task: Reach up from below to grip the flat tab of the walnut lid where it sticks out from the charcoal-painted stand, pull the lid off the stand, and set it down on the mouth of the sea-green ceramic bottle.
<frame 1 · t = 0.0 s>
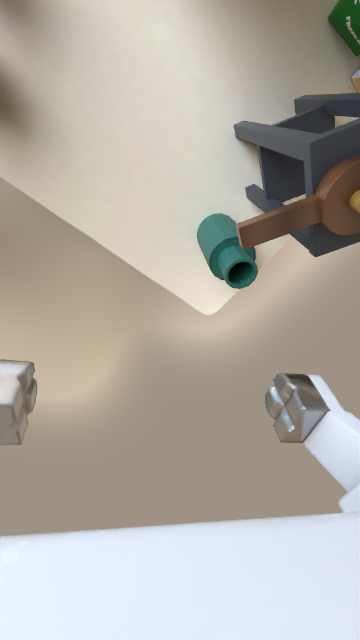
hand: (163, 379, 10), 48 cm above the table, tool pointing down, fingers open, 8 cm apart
bottle: (216, 233, 57), on the table
stand: (273, 150, 49), on the table
lid: (347, 194, 29), point 26 cm above the table, touching stand
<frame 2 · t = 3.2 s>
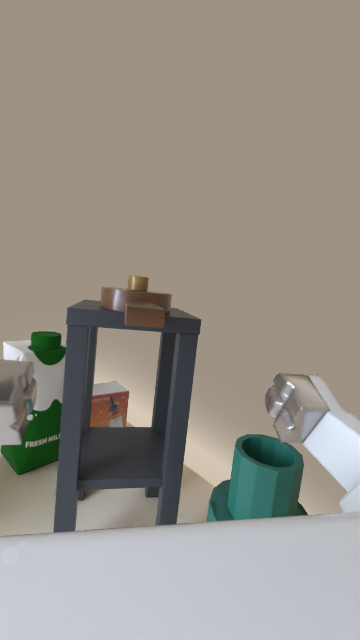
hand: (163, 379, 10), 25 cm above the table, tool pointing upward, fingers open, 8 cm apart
stand: (114, 523, 34), on the table
lid: (135, 310, 29), point 26 cm above the table, touching stand
milk carton: (33, 456, 46), on the table
small box: (96, 447, 50), on the table
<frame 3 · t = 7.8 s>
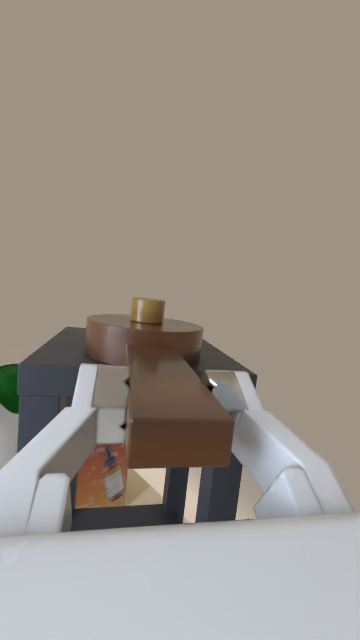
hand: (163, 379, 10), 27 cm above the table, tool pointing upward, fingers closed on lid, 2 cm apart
lid: (143, 353, 18), point 26 cm above the table, touching gripper, stand
milk carton: (2, 529, 34), on the table
small box: (88, 508, 39), on the table
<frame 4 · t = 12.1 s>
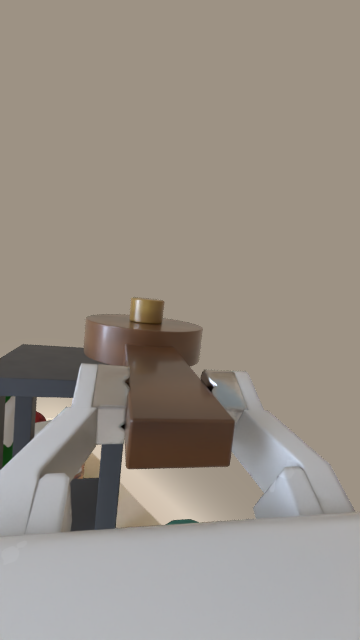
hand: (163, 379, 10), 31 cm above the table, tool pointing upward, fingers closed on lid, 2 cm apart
stand: (52, 591, 32), on the table
lid: (142, 353, 18), point 30 cm above the table, touching gripper
onion: (30, 447, 58), on the table
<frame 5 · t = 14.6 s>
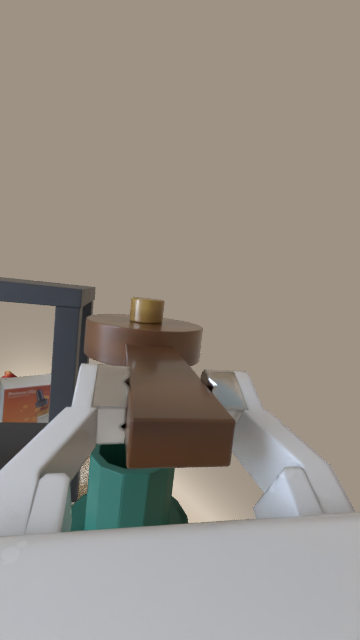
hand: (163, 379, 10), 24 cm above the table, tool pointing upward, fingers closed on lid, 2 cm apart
stand: (10, 534, 30), on the table
lid: (142, 353, 18), point 23 cm above the table, touching gripper
small box: (26, 445, 45), on the table
when the fingers open (18 cm above the table, at t = 16.5 s): lid stays where it is, resting on bottle.
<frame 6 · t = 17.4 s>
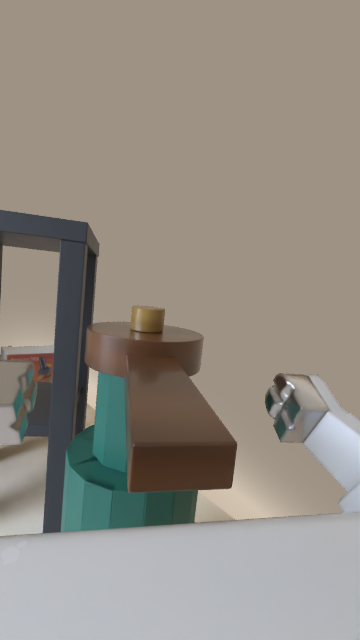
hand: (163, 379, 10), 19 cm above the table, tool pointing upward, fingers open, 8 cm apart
bottle: (119, 622, 19), on the table, touching lid
stand: (14, 489, 29), on the table
lid: (143, 362, 18), point 17 cm above the table, touching bottle
small box: (29, 416, 45), on the table
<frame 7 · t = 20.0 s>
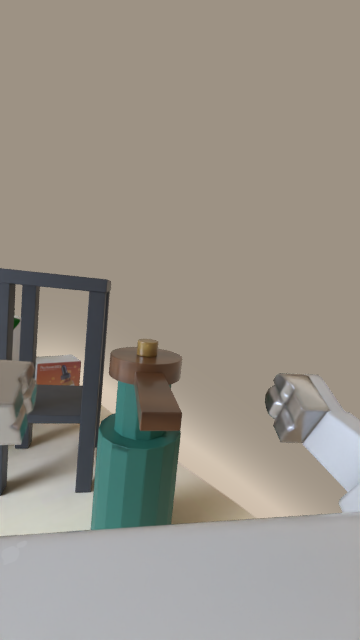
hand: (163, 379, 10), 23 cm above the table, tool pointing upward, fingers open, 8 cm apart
bottle: (130, 538, 29), on the table, touching lid
stand: (50, 464, 40), on the table
lid: (145, 374, 29), point 17 cm above the table, touching bottle
small box: (52, 412, 56), on the table
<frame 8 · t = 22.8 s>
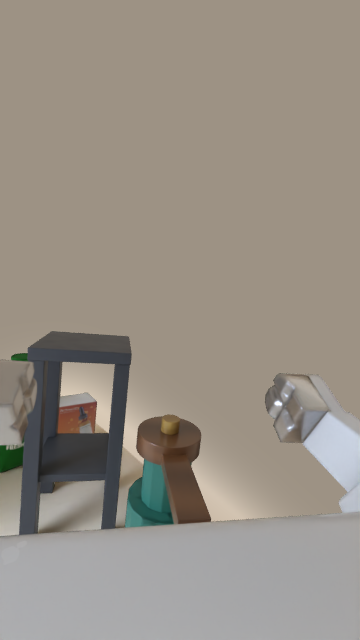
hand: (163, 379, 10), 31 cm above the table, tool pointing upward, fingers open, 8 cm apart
bottle: (153, 592, 33), on the table, touching lid
stand: (74, 510, 43), on the table
lid: (167, 447, 32), point 17 cm above the table, touching bottle
milk carton: (14, 457, 55), on the table
small box: (69, 449, 59), on the table
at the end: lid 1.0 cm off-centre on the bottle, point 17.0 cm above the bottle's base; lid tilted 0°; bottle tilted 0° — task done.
